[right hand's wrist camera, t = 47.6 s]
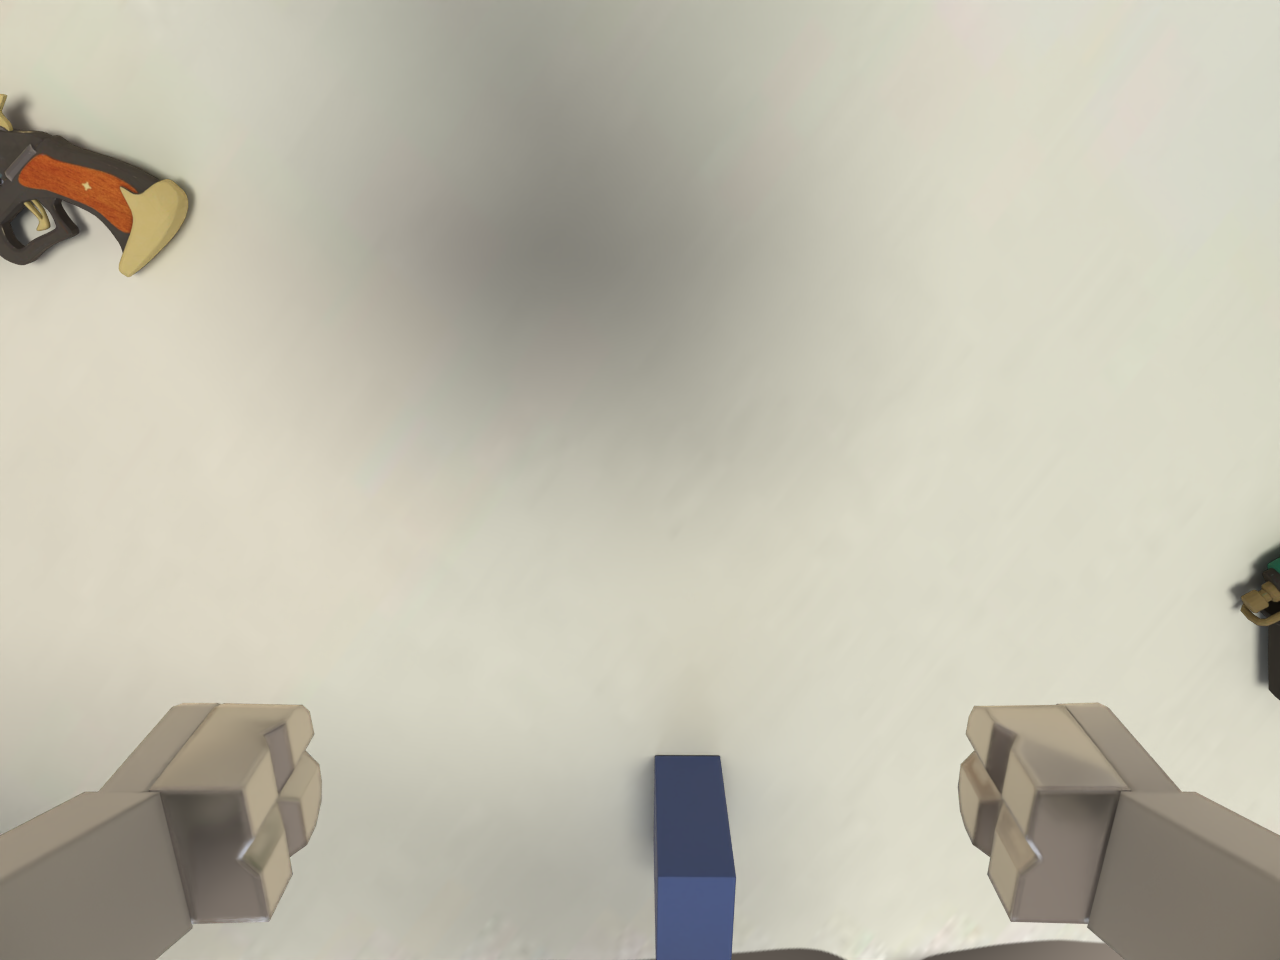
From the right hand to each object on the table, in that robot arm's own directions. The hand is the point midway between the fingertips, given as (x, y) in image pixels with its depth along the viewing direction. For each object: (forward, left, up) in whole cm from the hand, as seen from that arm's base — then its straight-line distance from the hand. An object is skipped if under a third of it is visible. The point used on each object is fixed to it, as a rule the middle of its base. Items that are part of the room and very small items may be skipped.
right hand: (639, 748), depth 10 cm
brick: (+25, -18, -34) cm, 46 cm away
